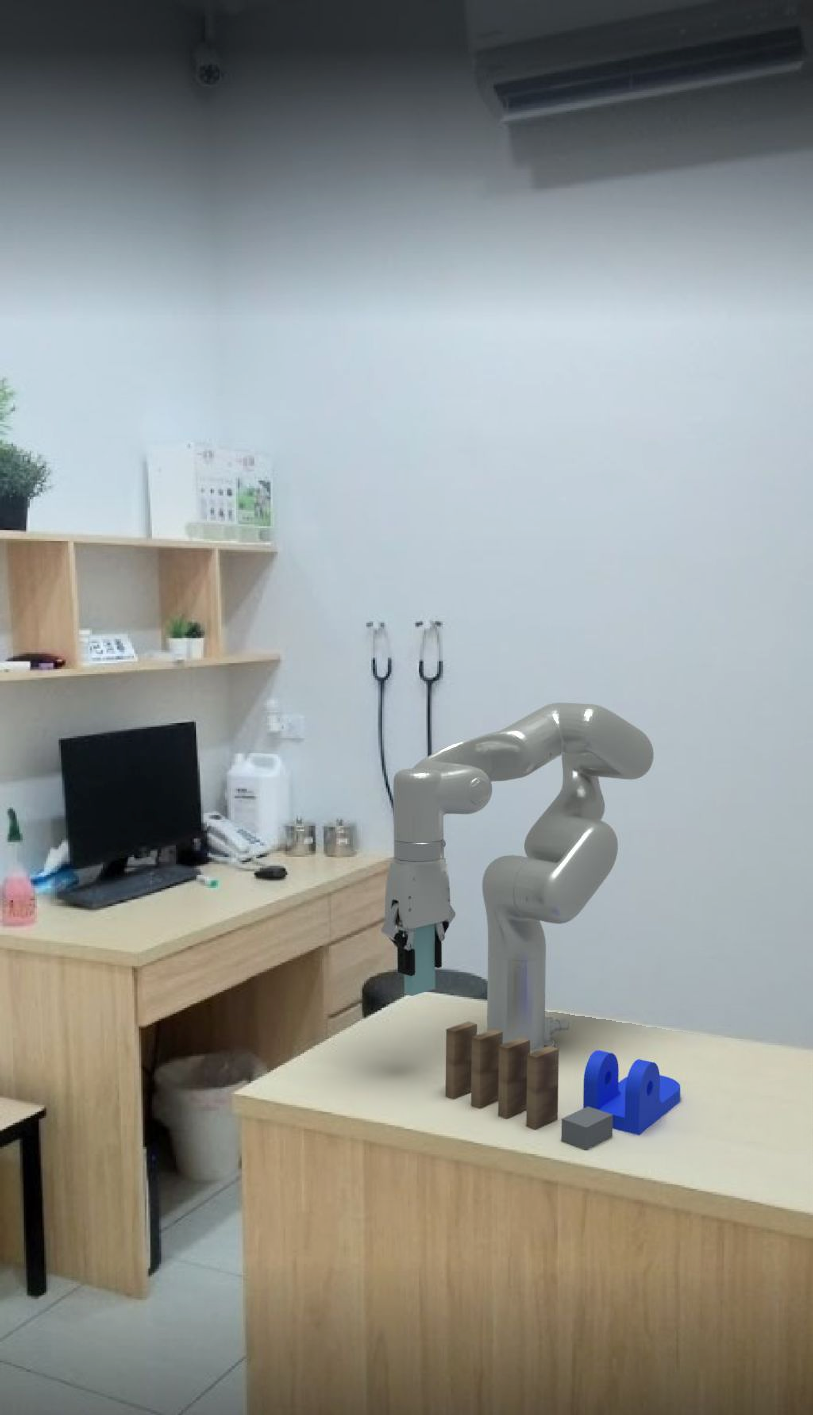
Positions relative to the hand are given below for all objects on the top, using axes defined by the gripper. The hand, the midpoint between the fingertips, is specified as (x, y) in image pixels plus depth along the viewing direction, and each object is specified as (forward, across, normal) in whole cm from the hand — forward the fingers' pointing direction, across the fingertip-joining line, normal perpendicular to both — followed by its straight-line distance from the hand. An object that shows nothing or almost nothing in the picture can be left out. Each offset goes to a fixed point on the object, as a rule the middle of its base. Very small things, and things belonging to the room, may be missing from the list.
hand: (419, 968), depth 173 cm
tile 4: (+17, 0, +18) cm, 25 cm away
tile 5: (+17, -1, +23) cm, 29 cm away
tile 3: (+17, 0, +13) cm, 21 cm away
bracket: (+18, -15, +29) cm, 37 cm away
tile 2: (+17, 0, +8) cm, 19 cm away
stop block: (+17, -1, +31) cm, 35 cm away
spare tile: (+4, 0, 0) cm, 4 cm away
